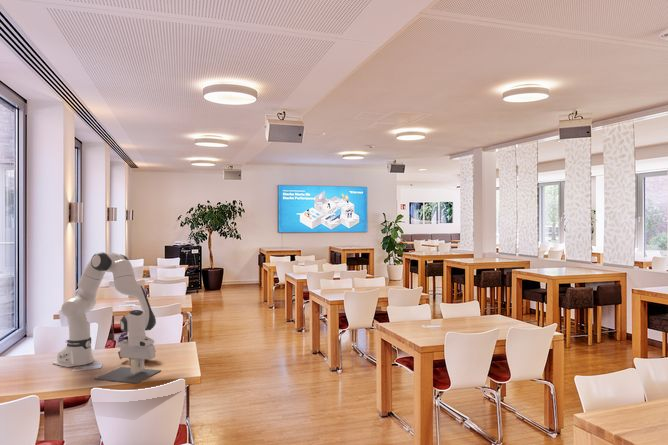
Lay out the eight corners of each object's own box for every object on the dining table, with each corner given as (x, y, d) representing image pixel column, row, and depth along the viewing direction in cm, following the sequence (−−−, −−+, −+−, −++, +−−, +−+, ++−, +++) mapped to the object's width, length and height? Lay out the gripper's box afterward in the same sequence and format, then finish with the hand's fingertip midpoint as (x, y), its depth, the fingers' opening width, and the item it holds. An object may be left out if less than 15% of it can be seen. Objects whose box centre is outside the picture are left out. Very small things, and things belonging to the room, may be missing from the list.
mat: (94, 379, 256) (94, 378, 256) (121, 367, 275) (121, 366, 275) (136, 383, 249) (136, 382, 249) (160, 371, 268) (160, 370, 268)
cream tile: (130, 373, 259) (130, 360, 259) (140, 368, 267) (140, 355, 267) (134, 373, 258) (134, 360, 258) (144, 368, 266) (144, 356, 266)
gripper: (116, 341, 262) (117, 366, 262) (149, 343, 257) (149, 369, 257) (124, 338, 268) (125, 363, 268) (156, 340, 263) (157, 365, 263)
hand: (137, 366), depth 263 cm, fingers closed on cream tile, 2 cm apart
